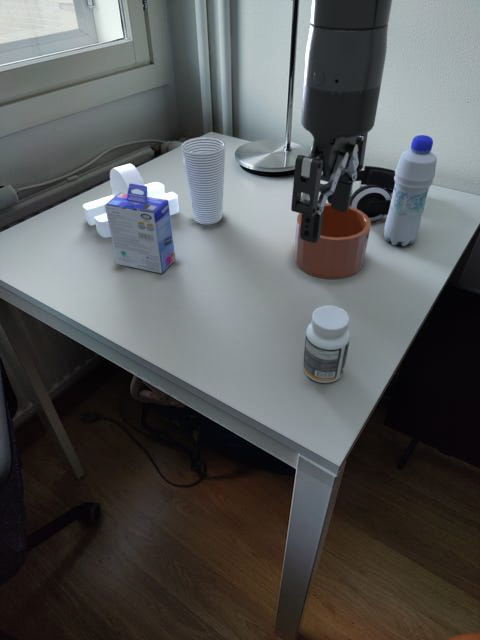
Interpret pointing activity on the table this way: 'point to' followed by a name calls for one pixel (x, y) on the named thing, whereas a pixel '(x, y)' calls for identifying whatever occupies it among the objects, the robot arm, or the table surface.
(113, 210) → the ink cartridge box
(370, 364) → the table surface
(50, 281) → the table surface
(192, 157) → the cup
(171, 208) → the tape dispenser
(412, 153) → the bottle
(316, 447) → the table surface
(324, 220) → the crock
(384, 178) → the headphones
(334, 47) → the robot arm
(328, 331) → the pill bottle
